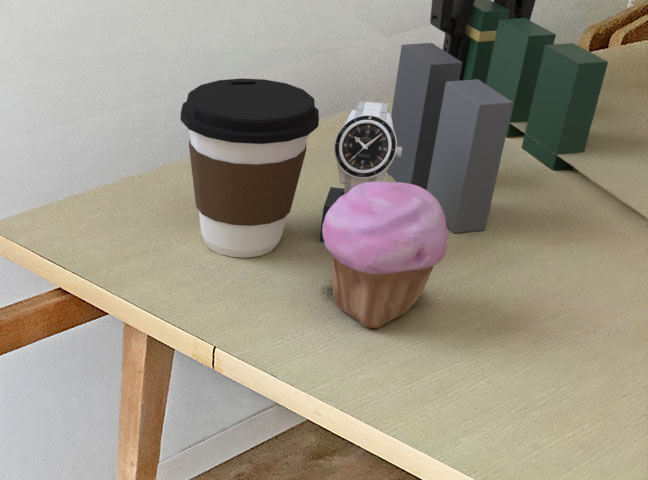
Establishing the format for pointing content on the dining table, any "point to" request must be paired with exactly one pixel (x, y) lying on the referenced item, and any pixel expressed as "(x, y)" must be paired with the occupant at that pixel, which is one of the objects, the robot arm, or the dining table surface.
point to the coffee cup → (246, 159)
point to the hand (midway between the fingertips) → (465, 94)
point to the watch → (363, 150)
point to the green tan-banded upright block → (482, 38)
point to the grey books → (448, 134)
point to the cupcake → (383, 248)
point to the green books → (546, 89)
